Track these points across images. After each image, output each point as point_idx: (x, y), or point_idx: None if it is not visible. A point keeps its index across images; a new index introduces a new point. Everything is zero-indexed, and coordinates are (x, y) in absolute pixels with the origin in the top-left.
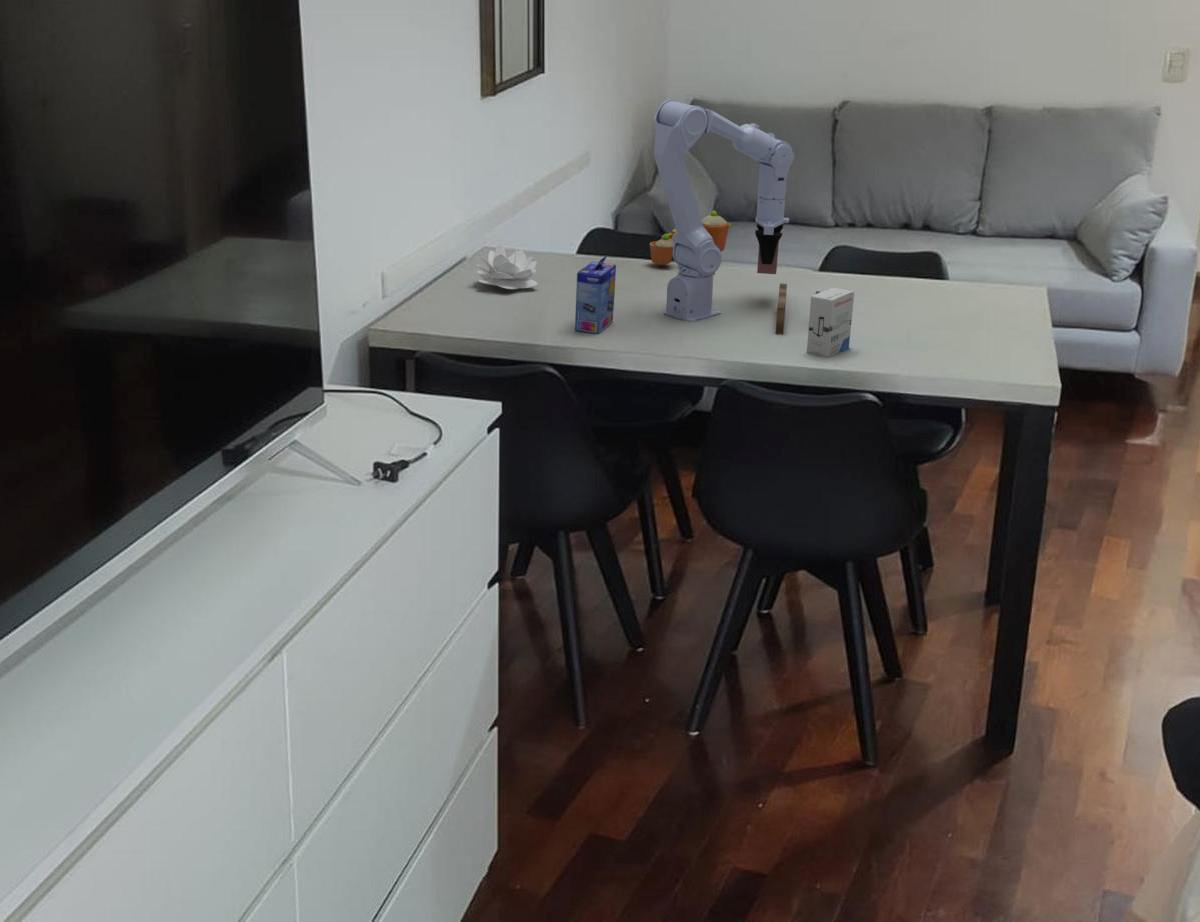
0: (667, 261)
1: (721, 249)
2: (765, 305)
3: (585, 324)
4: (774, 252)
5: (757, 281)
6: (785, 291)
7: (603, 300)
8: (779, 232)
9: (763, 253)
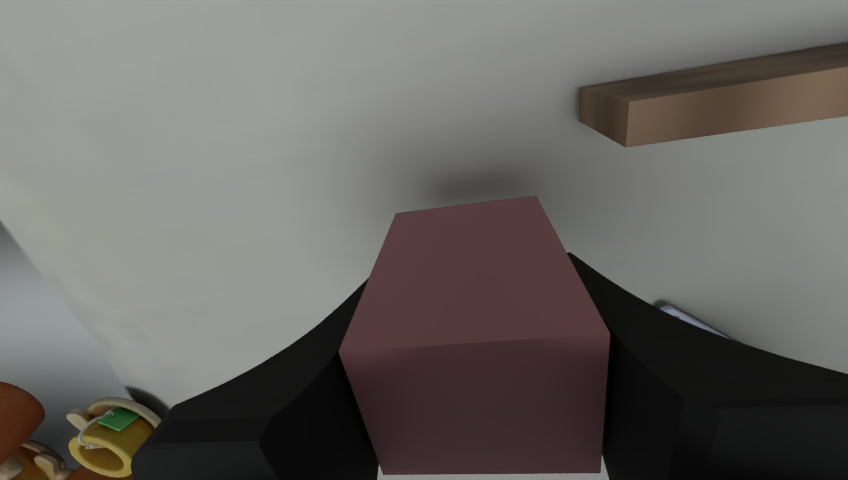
0: None
1: (6, 388)
2: (477, 183)
3: None
4: (625, 291)
5: (197, 257)
6: (842, 73)
7: None
8: (313, 384)
9: None
